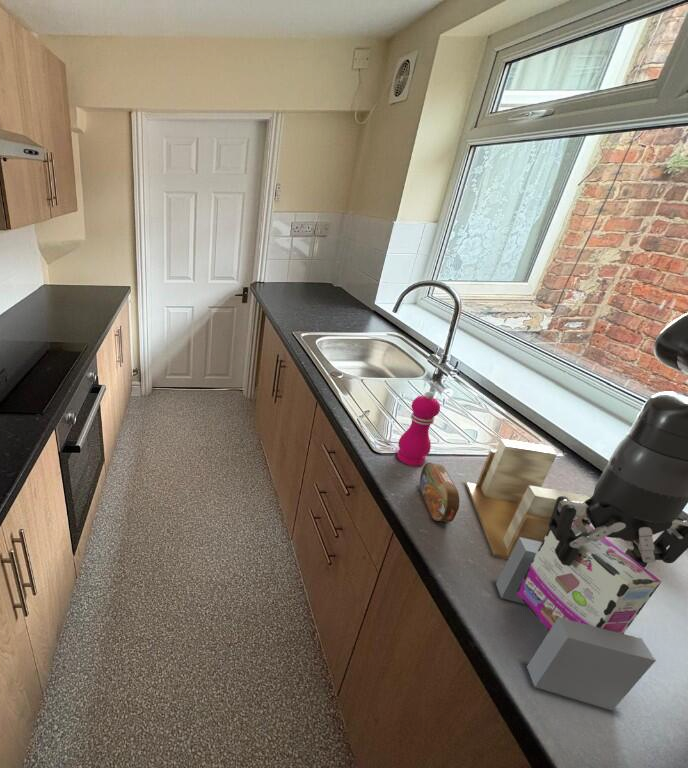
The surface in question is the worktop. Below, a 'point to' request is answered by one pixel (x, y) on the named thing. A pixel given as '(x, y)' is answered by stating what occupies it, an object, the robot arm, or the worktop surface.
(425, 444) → the pepper mill
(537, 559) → the candy bar box
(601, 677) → the grey blocks
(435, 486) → the tin
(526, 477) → the book rack
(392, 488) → the worktop surface
